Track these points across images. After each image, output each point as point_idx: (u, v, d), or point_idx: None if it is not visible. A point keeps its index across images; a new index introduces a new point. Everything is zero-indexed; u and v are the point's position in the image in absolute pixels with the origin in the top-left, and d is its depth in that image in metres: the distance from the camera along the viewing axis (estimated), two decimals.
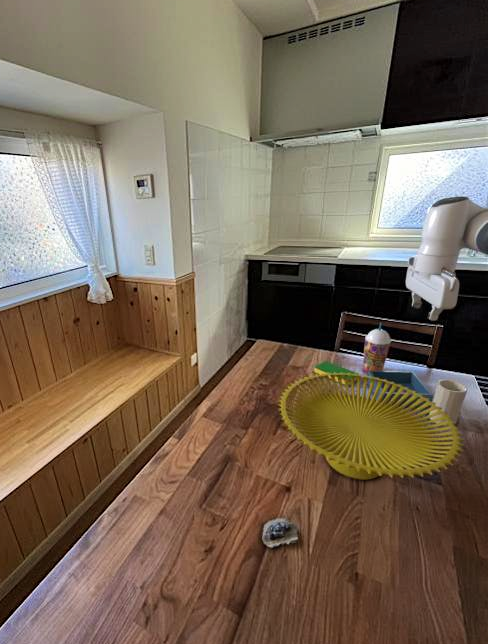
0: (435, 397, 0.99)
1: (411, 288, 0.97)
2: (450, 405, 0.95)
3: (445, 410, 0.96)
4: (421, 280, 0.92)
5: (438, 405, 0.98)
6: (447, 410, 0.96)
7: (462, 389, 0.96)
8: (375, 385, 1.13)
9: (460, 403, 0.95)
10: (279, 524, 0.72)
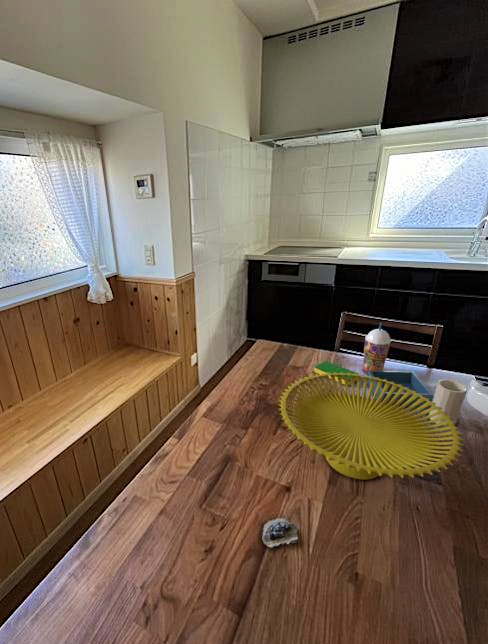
0: (435, 397, 0.99)
1: None
2: (450, 405, 0.95)
3: (445, 410, 0.96)
4: None
5: (438, 405, 0.98)
6: (447, 410, 0.96)
7: (462, 389, 0.96)
8: (375, 385, 1.13)
9: (460, 403, 0.95)
10: (279, 524, 0.72)
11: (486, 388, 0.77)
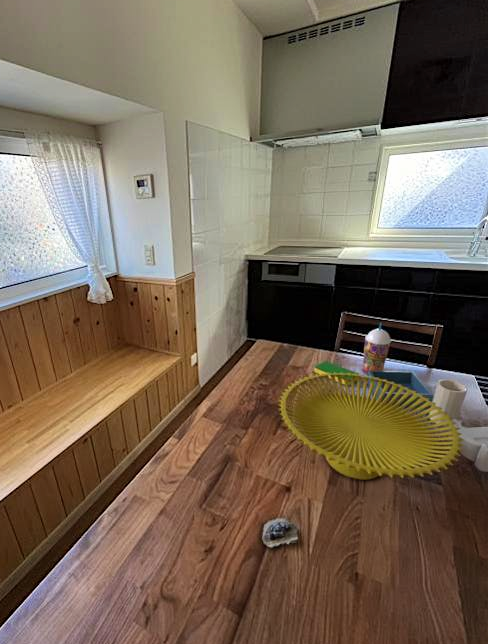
0: (435, 397, 0.99)
1: None
2: (450, 405, 0.95)
3: (445, 410, 0.96)
4: None
5: (438, 405, 0.98)
6: (447, 410, 0.96)
7: (462, 389, 0.96)
8: (375, 385, 1.13)
9: (460, 403, 0.95)
10: (279, 524, 0.72)
11: (466, 430, 0.84)
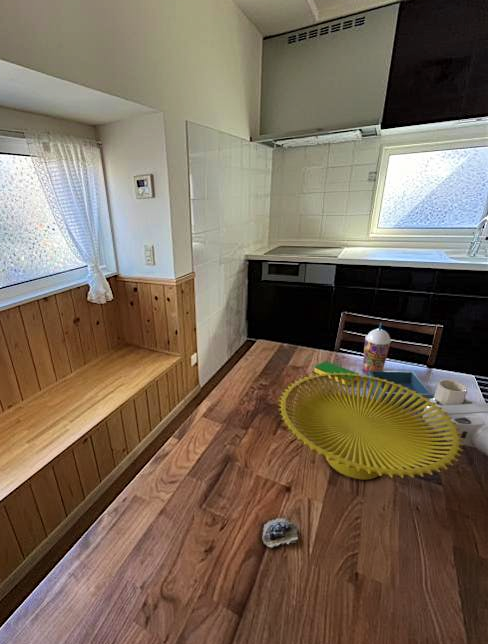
0: (435, 397, 0.99)
1: None
2: None
3: None
4: None
5: None
6: None
7: (462, 389, 0.96)
8: (375, 385, 1.13)
9: (460, 403, 0.95)
10: (279, 524, 0.72)
11: None
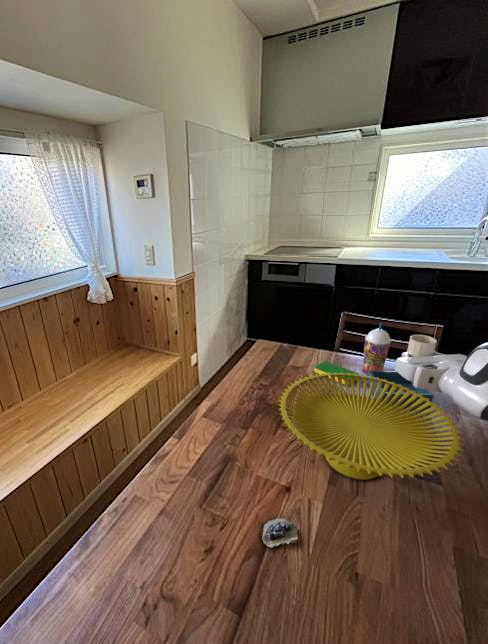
0: (407, 351, 1.04)
1: None
2: None
3: None
4: None
5: None
6: None
7: (432, 342, 1.01)
8: (375, 385, 1.13)
9: (430, 355, 1.00)
10: (279, 524, 0.72)
11: (408, 358, 0.98)
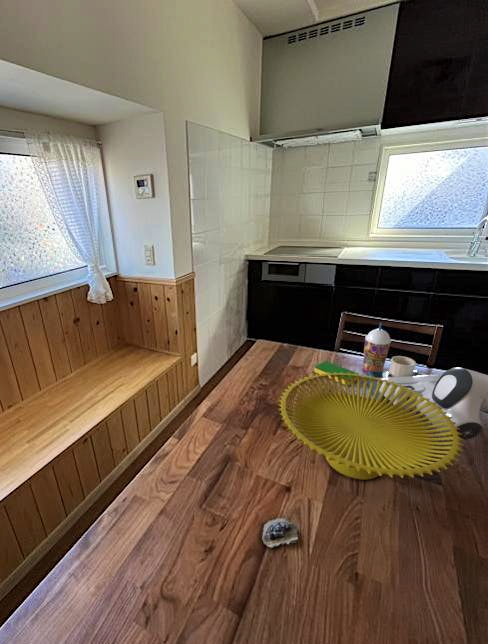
0: (389, 371, 1.11)
1: None
2: None
3: None
4: None
5: None
6: None
7: (412, 364, 1.09)
8: (375, 385, 1.13)
9: None
10: (279, 524, 0.72)
11: (389, 378, 1.06)
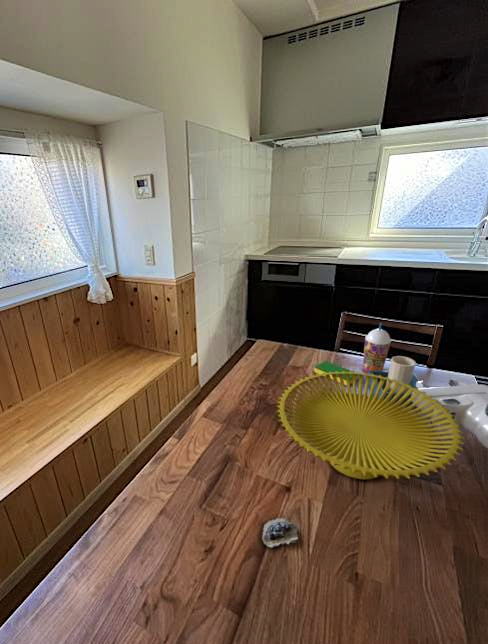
0: (389, 371, 1.11)
1: None
2: (401, 378, 1.08)
3: None
4: None
5: (391, 378, 1.10)
6: None
7: (412, 364, 1.09)
8: (375, 385, 1.13)
9: (409, 376, 1.07)
10: (279, 524, 0.72)
11: (426, 389, 0.90)
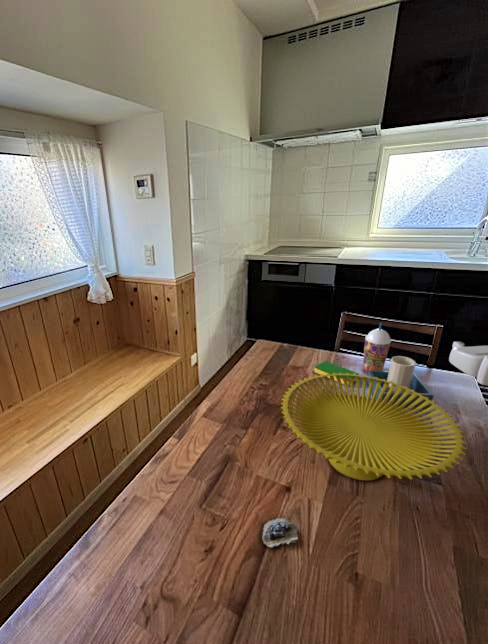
0: (389, 371, 1.11)
1: None
2: (401, 378, 1.08)
3: (397, 382, 1.09)
4: None
5: (391, 378, 1.10)
6: (399, 382, 1.09)
7: (412, 364, 1.09)
8: (375, 385, 1.13)
9: (409, 376, 1.07)
10: (279, 524, 0.72)
11: (467, 348, 0.79)
